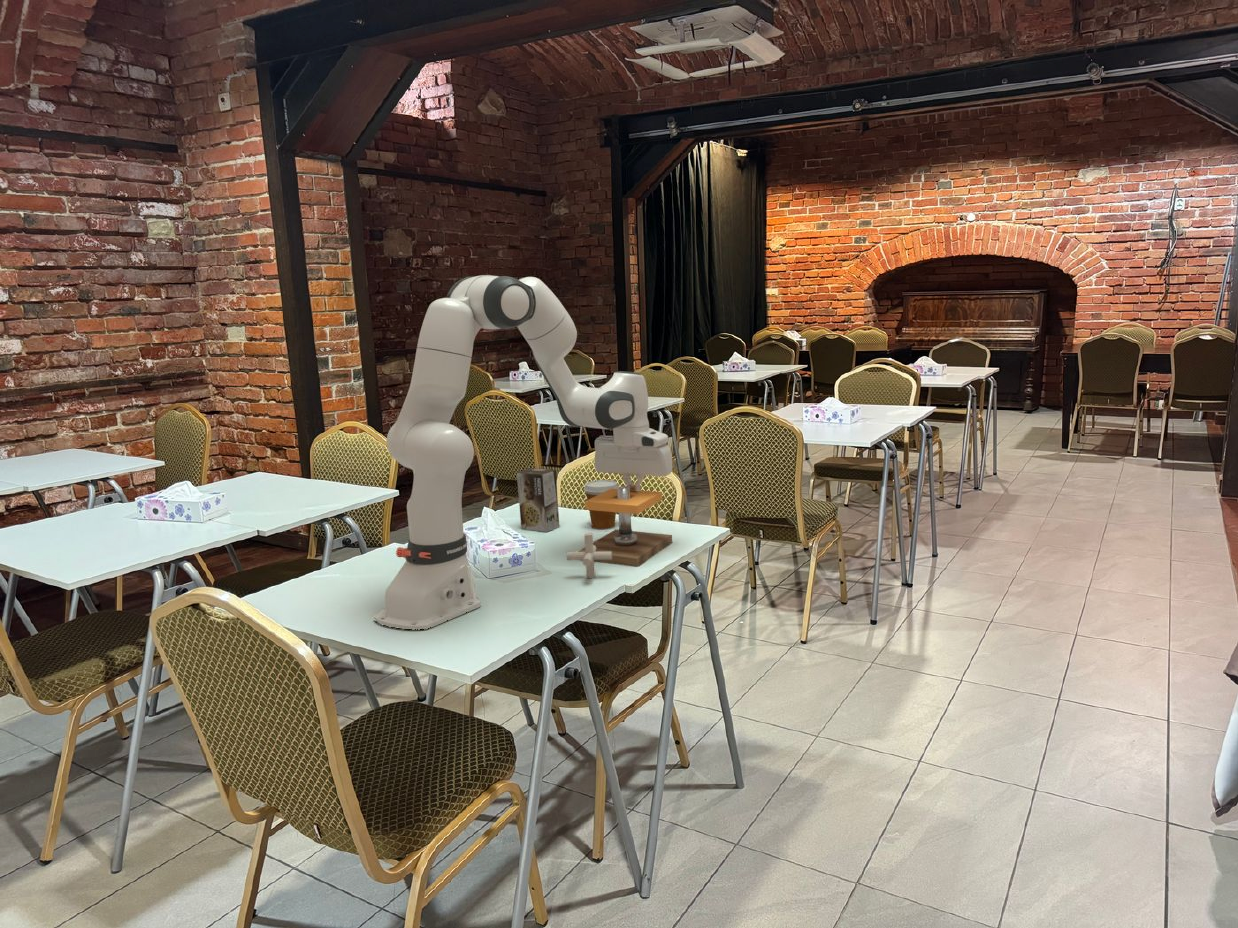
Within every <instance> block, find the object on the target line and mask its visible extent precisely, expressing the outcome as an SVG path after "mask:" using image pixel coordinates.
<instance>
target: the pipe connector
mask: <svg viewBox="0 0 1238 928" xmlns="http://www.w3.org/2000/svg"><path fill="white" fill-rule="evenodd" d="M583 537H584V548H585V552H578V551H568V552H566V560H567V561H582V565H584V566H585V569H586V578H587V579H593V578H595V577H596V576H595V561H594V560H605V559H612V551H607V552H596V549H597V548H596V546H595V545H593V542H594V540H593V539H594V536H593V533H590V532H585V533H584V536H583Z"/></svg>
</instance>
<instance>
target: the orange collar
mask: <svg viewBox="0 0 1238 928" xmlns="http://www.w3.org/2000/svg"><path fill="white" fill-rule="evenodd" d="M661 501H663V492H662V491H654V490H653V491H651V490H650V491H649V490H640V492H630V499H628V500H626V499H618V492H617V489H613V488H612V489H609V490H607V491H605V492H603V493H601V494H599V495H597V496H595V497H593V498H591V499H589V500H585V501H584V510H588V511H589V510H596V511H607V512H616V513H618V512H619V513H630V514H631V515H632V514H633V515H639V514H640V513H642V512H644V511H646V510H647V509H650V508H651V507H653V506H654V505H657V504H658V503H659V502H661ZM619 513H618V514H619Z"/></svg>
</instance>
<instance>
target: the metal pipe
mask: <svg viewBox="0 0 1238 928" xmlns="http://www.w3.org/2000/svg"><path fill="white" fill-rule="evenodd" d="M617 492H618V499H626V500H628V499H630V487H627V485H625V486H619V487H618V488H617ZM617 513H618V530H619V534H618V535H615V536H614V541H615V545H617V546H633V545H636V544H637V535H636V534H632V531H633V529H632V514H630V513H619V512H617Z"/></svg>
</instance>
